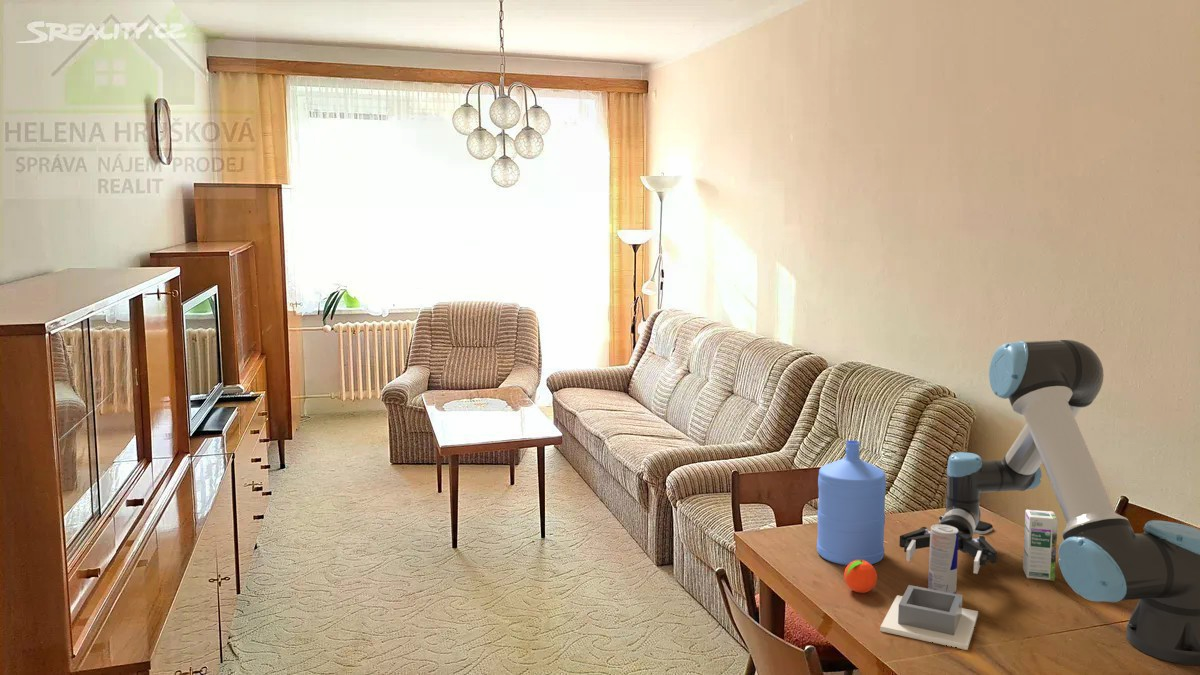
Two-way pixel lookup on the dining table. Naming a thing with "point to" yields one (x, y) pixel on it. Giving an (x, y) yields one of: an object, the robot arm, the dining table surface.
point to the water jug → (851, 509)
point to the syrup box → (1040, 544)
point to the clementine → (860, 576)
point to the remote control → (979, 527)
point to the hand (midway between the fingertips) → (941, 561)
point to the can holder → (931, 617)
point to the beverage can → (943, 558)
